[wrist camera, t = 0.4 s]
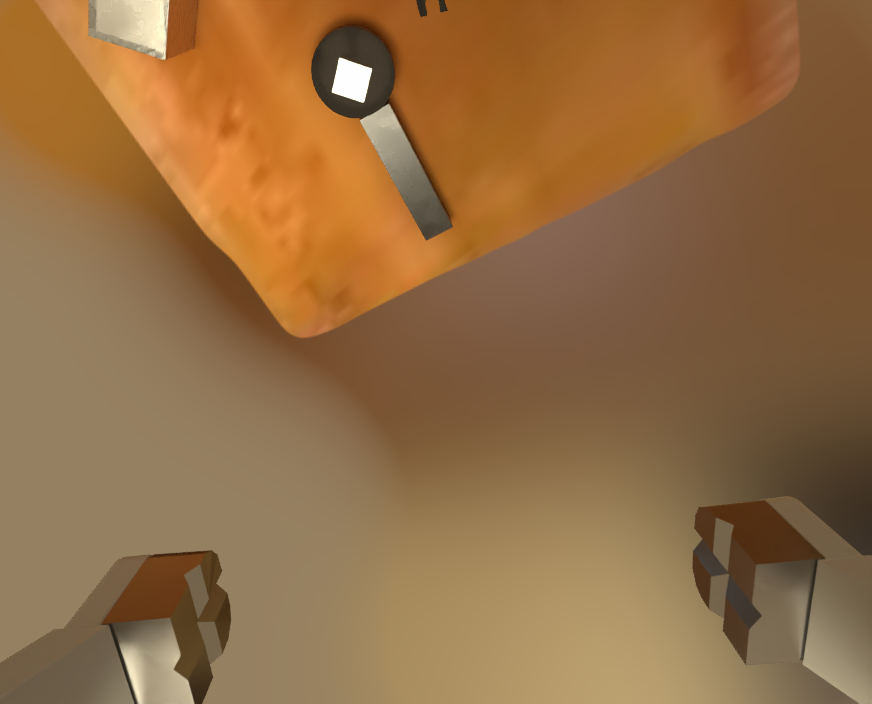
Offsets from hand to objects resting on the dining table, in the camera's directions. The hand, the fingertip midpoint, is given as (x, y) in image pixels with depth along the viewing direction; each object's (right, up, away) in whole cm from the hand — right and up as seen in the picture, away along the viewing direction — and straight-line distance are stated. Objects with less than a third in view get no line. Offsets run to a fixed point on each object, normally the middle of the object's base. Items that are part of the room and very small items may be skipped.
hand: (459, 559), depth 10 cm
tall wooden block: (-23, +32, +37) cm, 54 cm away
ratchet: (-5, +24, +45) cm, 51 cm away
